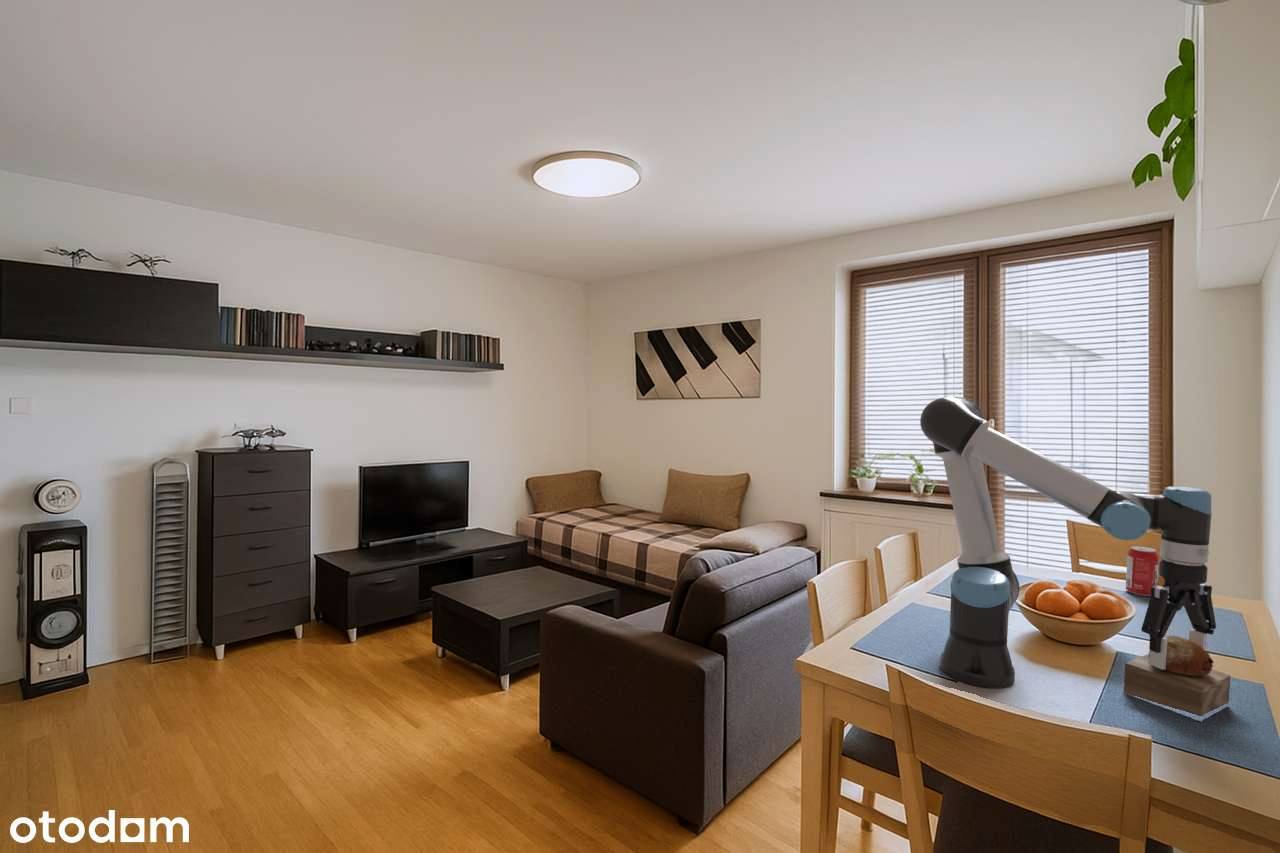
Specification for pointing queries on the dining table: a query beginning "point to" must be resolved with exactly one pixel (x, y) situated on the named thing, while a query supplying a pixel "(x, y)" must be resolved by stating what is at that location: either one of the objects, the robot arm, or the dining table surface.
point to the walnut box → (1176, 687)
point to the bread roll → (1186, 657)
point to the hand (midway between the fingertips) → (1176, 664)
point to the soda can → (1141, 570)
